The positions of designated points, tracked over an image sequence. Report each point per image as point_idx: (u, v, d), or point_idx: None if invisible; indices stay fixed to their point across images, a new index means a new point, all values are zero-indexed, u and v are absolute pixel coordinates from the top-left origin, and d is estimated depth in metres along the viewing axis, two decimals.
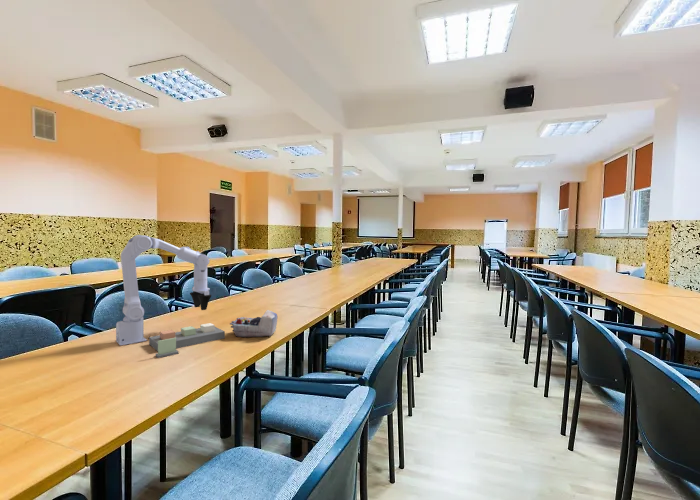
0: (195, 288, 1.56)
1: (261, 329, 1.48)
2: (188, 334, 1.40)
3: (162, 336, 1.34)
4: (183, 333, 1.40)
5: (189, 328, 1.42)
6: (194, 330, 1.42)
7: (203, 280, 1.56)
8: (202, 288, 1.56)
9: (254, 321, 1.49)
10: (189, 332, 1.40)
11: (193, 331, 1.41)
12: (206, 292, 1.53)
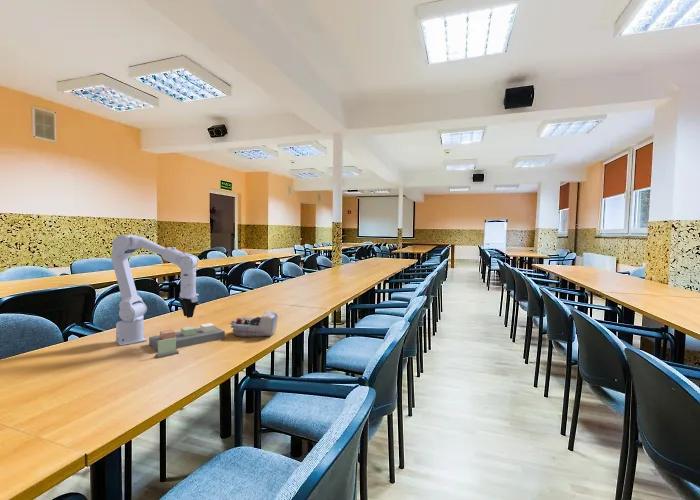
0: (182, 294, 1.39)
1: (261, 329, 1.48)
2: (188, 334, 1.40)
3: (162, 336, 1.34)
4: (183, 333, 1.40)
5: (189, 328, 1.42)
6: (194, 330, 1.42)
7: (191, 285, 1.39)
8: (190, 294, 1.39)
9: (254, 321, 1.49)
10: (189, 332, 1.40)
11: (193, 331, 1.41)
12: (194, 299, 1.36)
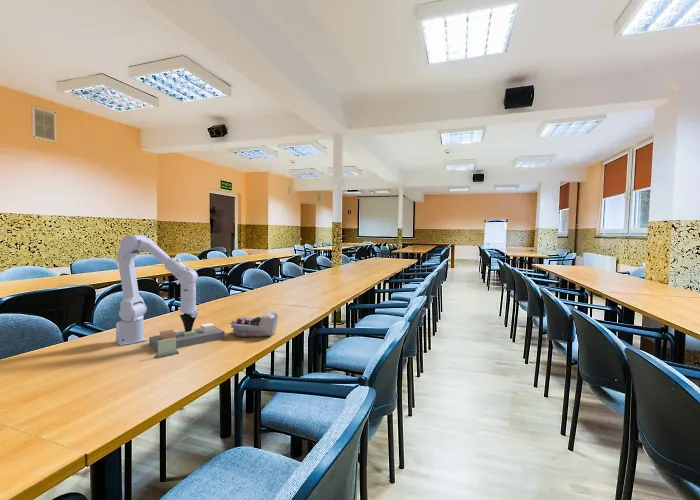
0: (182, 309, 1.39)
1: (261, 329, 1.48)
2: None
3: (162, 336, 1.34)
4: None
5: None
6: (194, 333, 1.42)
7: (191, 300, 1.39)
8: (190, 309, 1.39)
9: (254, 321, 1.49)
10: (189, 335, 1.40)
11: (193, 334, 1.41)
12: (194, 314, 1.36)
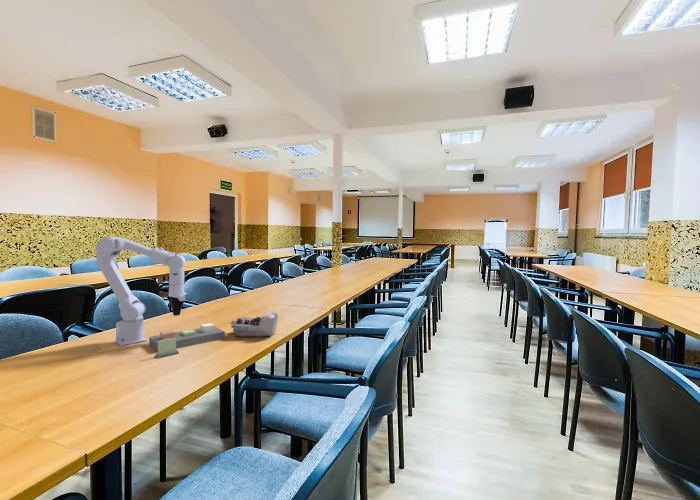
0: (170, 293, 1.42)
1: (261, 329, 1.48)
2: None
3: (162, 336, 1.34)
4: None
5: (189, 331, 1.42)
6: (194, 333, 1.42)
7: (179, 284, 1.42)
8: (178, 293, 1.42)
9: (254, 321, 1.49)
10: (189, 335, 1.40)
11: (193, 334, 1.41)
12: (181, 297, 1.39)
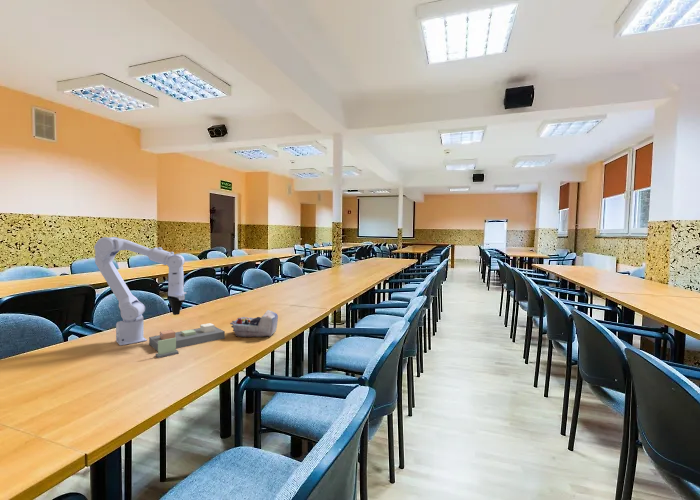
0: (170, 292, 1.42)
1: (260, 329, 1.48)
2: None
3: (162, 336, 1.34)
4: None
5: (189, 331, 1.42)
6: (194, 333, 1.42)
7: (178, 283, 1.42)
8: (177, 292, 1.42)
9: (254, 321, 1.49)
10: (189, 335, 1.40)
11: (193, 334, 1.41)
12: (181, 297, 1.39)
